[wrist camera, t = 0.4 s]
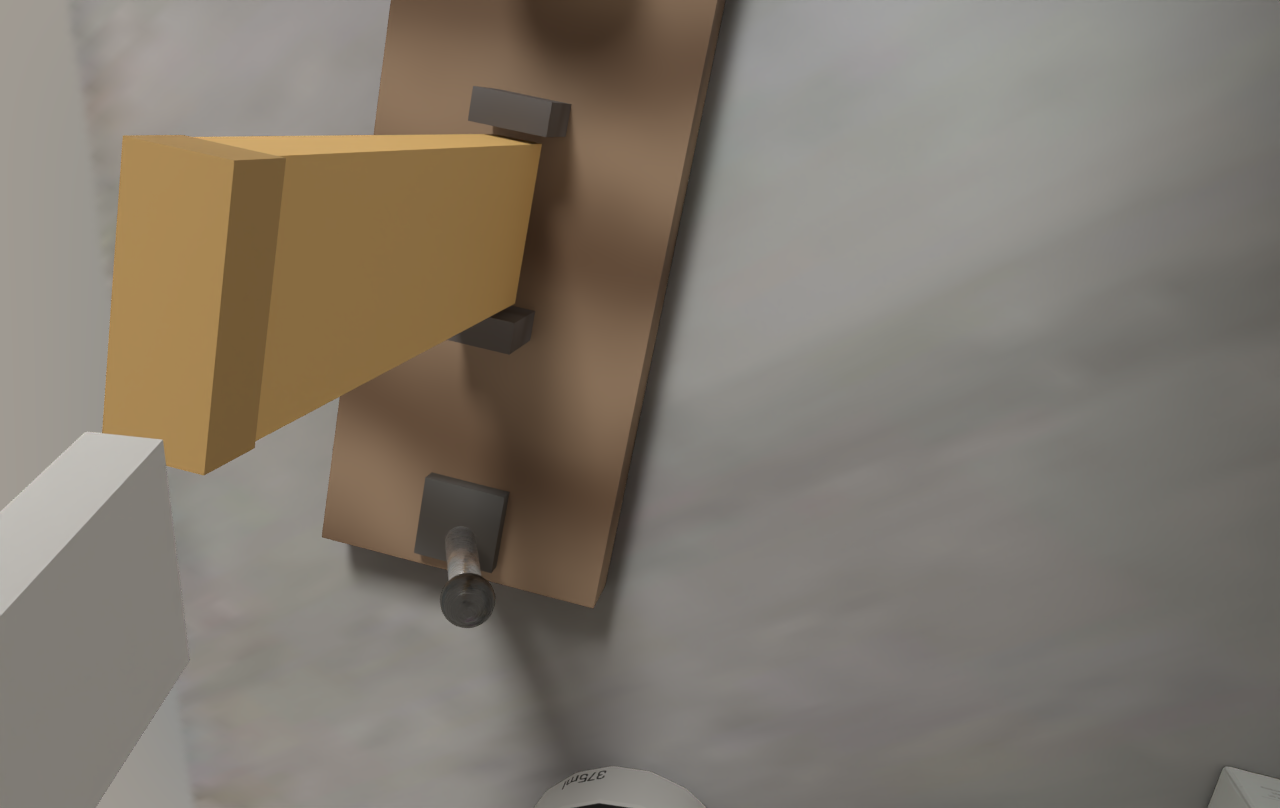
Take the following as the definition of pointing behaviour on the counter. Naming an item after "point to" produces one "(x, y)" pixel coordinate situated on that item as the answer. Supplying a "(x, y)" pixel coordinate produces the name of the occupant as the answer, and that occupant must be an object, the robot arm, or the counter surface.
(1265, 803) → the small box
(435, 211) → the tan tall block
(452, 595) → the toggle lever
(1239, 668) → the counter surface
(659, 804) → the supplement can
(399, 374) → the console
